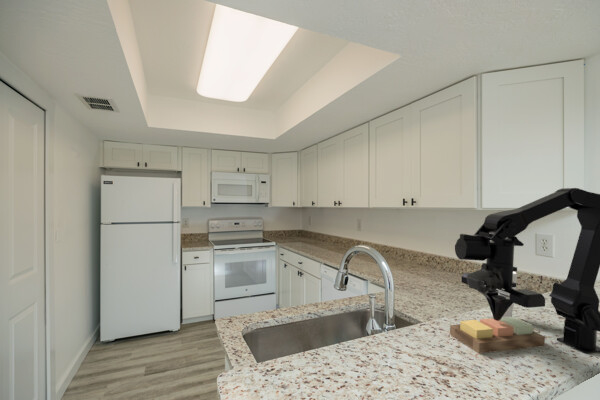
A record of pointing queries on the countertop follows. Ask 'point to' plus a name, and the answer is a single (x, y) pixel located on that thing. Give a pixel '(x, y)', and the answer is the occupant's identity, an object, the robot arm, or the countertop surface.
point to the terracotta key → (498, 327)
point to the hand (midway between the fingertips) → (496, 320)
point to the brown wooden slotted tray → (498, 341)
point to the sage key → (518, 325)
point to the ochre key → (476, 329)
